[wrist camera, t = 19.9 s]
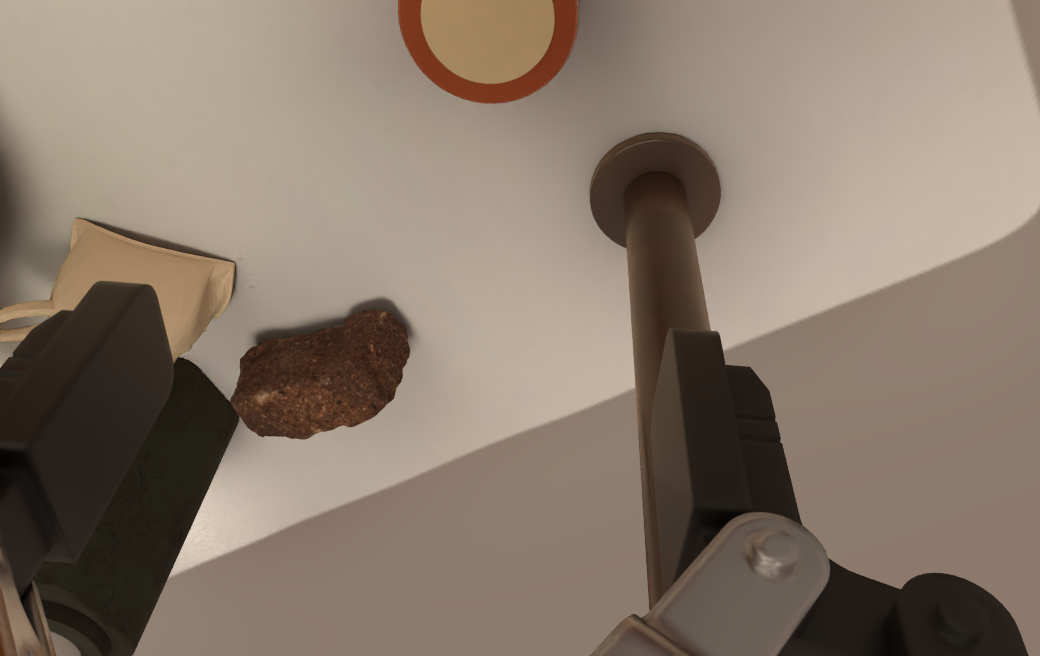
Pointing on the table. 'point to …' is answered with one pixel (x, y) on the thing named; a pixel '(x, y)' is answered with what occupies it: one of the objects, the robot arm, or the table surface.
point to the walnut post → (657, 269)
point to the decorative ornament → (111, 257)
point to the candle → (140, 526)
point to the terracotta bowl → (489, 44)
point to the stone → (322, 377)
